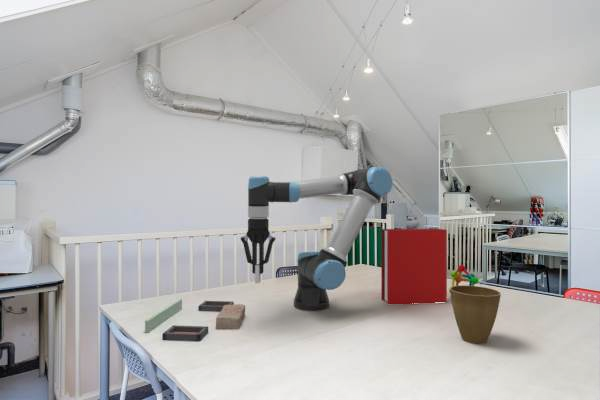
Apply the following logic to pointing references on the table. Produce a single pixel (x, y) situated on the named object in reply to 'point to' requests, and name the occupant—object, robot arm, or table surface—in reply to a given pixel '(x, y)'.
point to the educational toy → (458, 279)
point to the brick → (230, 316)
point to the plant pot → (475, 311)
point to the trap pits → (194, 331)
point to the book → (414, 266)
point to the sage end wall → (162, 315)
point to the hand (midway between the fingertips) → (257, 282)
